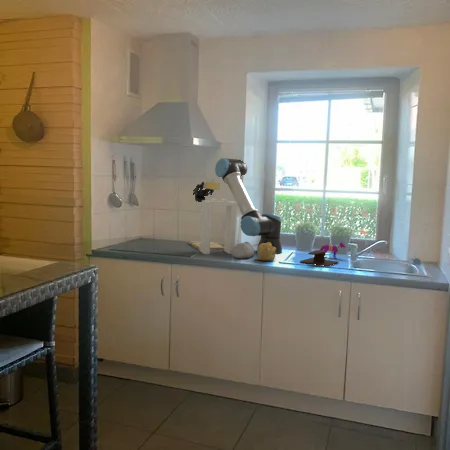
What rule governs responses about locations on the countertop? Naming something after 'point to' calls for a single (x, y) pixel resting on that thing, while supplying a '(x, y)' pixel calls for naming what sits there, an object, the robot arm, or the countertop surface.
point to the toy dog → (332, 248)
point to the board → (212, 245)
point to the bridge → (229, 224)
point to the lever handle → (318, 259)
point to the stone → (266, 252)
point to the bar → (212, 185)
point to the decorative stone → (243, 250)
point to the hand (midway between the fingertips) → (209, 180)
